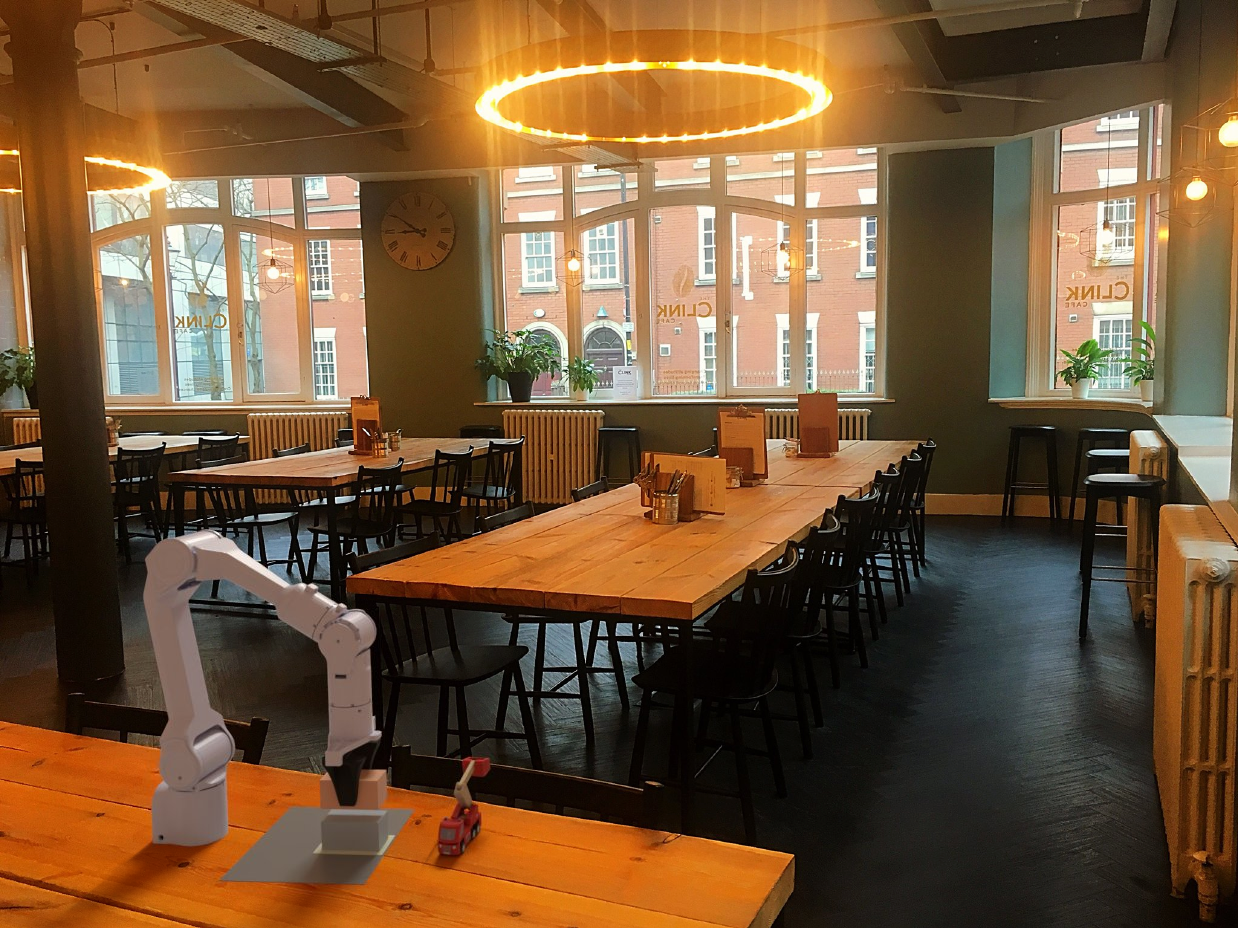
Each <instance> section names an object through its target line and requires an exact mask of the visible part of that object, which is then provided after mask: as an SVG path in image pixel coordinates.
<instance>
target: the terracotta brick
mask: <svg viewBox="0 0 1238 928" xmlns="http://www.w3.org/2000/svg"><path fill="white" fill-rule="evenodd" d="M319 797H320V799H319V801H320V806H319V807H321V809H358V810H379V808H381V807H382V806H383V804H384V803H385V802H386V800H387V799H388V780H387V769H371V770H361V773H360V778H359V787H358V797H357V802H356V805H355V806H340V805H339V802H338V799H337V795H336V792H335V789H334V785H333V783H332V780H331V778H330V776H329V774H328V772H327V771H326V773H324V775H323V776H322V777H321V778H320V779H319Z"/></svg>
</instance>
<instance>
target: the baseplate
mask: <svg viewBox="0 0 1238 928" xmlns="http://www.w3.org/2000/svg"><path fill="white" fill-rule="evenodd" d="M331 810H332V809H321V806H315V807H314V806H290V807H289V808H288V809H287V810H286V811H285V812H284V813H283V814H282V816H281V817H279V818H278V819H277V821H276V822H274V824H273V825H272V826H270V828H269V829H267V831H266V832H265V833H264V834H263V835H262V836H261V837H260V838H258V840H257V841H256V842H255V843H254V844H253V845H252V846H251V847H250V848H249V849H248V850H247V851H246V852H245V853H244V854H243V855H242V857H241V858H240V859H239V860H237V862H235V864H233V865H232V867H231V868H229V870H228V871H227V872H226V873H225V874H224V875H223V876H221V878H220V879H219V882H248V883H249V882H250V883H251V882H252V883H255V882H256V883H287V884H324V885H357V886H358V885H360V886H363V885H364V886H365V884H366V883H367V881H368V879H369V878H370V876H371V875H372V874H373V872H374V871H375V869H376V868H377V866H378V865H379V863H380V862H381V860H382V858H383V857H385V854H386V852H388V849H390V847H391V845H392V844H393V842H394V841H395V840H396V838H397V837H398V835H399V834H400V832H401V831H402V829H403V828H404V826H405V825H406V823H407V822H408V820H409V819H410V817H411V816H412V814H413V812H415V808H414V809H413V808H381V807H380V808H379V810H384V811H388V840H387V841H386V843H385V844H384V845H383V847H382V848H381V850H380V851H341V850H322V837H321V821H322V820H323V819H324V817H325V816H326V815H327V814H328V813H329V812H330V811H331ZM341 810H358V809H341Z"/></svg>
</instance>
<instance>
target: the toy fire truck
mask: <svg viewBox="0 0 1238 928" xmlns="http://www.w3.org/2000/svg"><path fill="white" fill-rule="evenodd" d="M490 760H491V758H489V757H473V756H468V757H465V758H463V759H462V763H461V766H462V772H463V773H462V774H463V775H462V777H461V779H460V780H459V781H456V783H455V788H454V791H453V796H454V798H455V799H456V801H457V803H456V805H455V807H454V810H453V812H452V814H451V815H450V818H448V817H447V816H445V817H444V818H442V819H441V821H440V823H439V826H438V833H437V841H438V842H437V850H438V851H437V852H438V854H442V855H447V856H457V855H460V854H464V853H465V851H466V850H465V849H466V846H467V845H468V843H469V842H470V841H471V840H474V839H475V838H476V835H477V834H479V833H480V828H481V826H482V824H483V823H482V812H481V811H479V804H477V803H474V802H473V800H472V796H471V793H470V791H469V788H468V785H467V784H468V782H469V780H470V778H471V777H482V778H483V777H486V776H487V774H488V773H489V771H490V770H491V762H490Z"/></svg>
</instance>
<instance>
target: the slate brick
mask: <svg viewBox="0 0 1238 928" xmlns="http://www.w3.org/2000/svg"><path fill="white" fill-rule="evenodd" d="M321 837H322V850H341V851H380V850H381V848H382V847H383V845H384V844H385V843H386V841H387V840H388V811H384V810H341V809H332V810H331V811H330V812H329V813H328V814H327V815H326V816H325V817H324V819H323V820H322V821H321Z"/></svg>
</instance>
